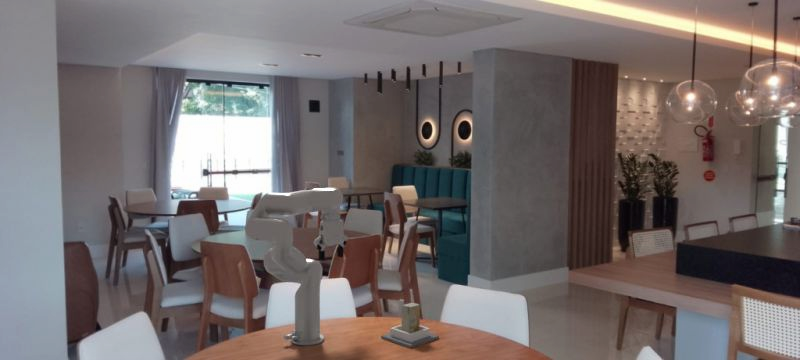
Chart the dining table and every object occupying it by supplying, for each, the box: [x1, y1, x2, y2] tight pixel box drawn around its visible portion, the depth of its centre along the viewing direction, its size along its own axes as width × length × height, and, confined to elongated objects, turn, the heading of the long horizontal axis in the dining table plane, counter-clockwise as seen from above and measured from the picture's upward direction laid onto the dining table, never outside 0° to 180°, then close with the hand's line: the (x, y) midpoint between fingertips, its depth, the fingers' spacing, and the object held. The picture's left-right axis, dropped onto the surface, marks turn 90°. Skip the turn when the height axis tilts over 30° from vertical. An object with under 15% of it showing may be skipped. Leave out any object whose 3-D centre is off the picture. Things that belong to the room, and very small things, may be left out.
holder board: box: [380, 324, 440, 349], centre depth 225 cm, size 16×16×4 cm
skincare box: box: [401, 302, 421, 333], centre depth 225 cm, size 6×4×12 cm
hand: (331, 258), depth 239 cm, fingers open, 9 cm apart
